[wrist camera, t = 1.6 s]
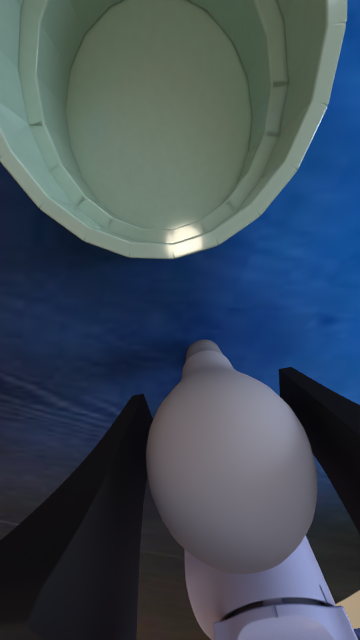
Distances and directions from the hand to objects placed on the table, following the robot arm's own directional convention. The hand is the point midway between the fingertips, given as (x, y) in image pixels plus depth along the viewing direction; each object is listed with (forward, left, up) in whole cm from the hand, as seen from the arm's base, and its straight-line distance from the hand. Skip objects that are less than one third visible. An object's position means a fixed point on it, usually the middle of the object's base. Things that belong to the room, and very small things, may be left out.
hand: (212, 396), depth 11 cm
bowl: (+8, +10, -5) cm, 14 cm away
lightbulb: (0, 0, -5) cm, 5 cm away
